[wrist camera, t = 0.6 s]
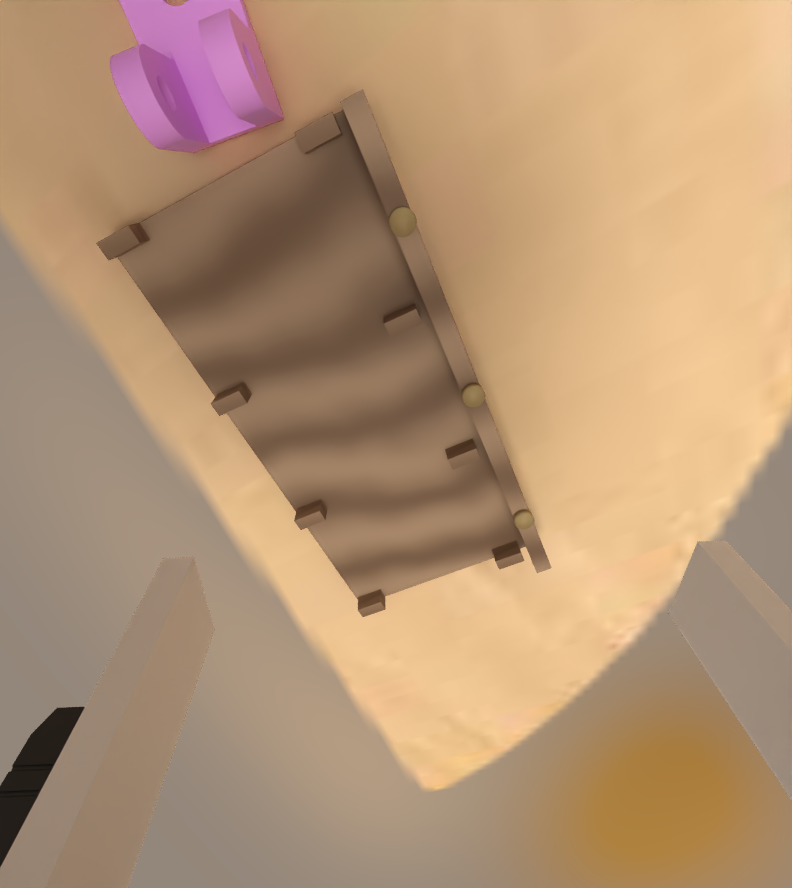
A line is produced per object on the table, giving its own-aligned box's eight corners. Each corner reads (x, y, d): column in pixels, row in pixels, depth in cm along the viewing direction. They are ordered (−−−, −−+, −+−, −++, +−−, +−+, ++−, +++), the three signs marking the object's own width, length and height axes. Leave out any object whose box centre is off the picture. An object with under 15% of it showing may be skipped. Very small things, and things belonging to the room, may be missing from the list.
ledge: (115, 239, 30) (71, 250, 25) (366, 100, 27) (364, 86, 22) (361, 594, 45) (360, 639, 41) (536, 531, 42) (555, 573, 38)
